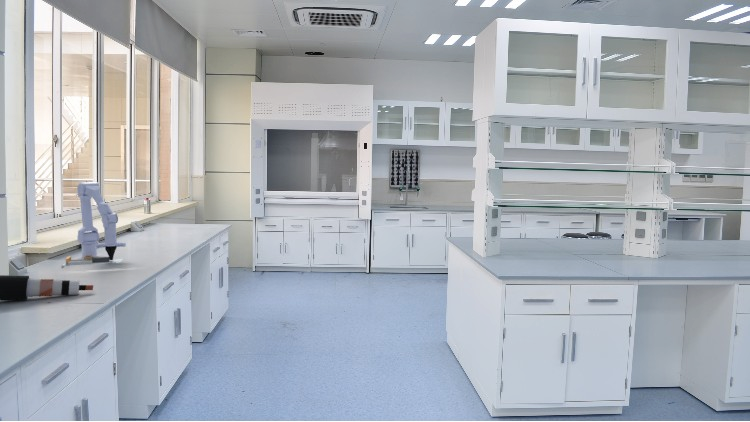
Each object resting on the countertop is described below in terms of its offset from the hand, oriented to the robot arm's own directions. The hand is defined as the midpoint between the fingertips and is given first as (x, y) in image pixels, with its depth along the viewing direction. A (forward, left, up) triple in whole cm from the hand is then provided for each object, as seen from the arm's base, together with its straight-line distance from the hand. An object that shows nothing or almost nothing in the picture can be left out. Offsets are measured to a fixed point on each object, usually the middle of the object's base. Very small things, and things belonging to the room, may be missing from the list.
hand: (111, 260), depth 288 cm
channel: (0, -9, -2) cm, 9 cm away
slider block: (0, -11, 0) cm, 11 cm away
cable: (+70, -14, -2) cm, 71 cm away
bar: (0, -5, -1) cm, 5 cm away
